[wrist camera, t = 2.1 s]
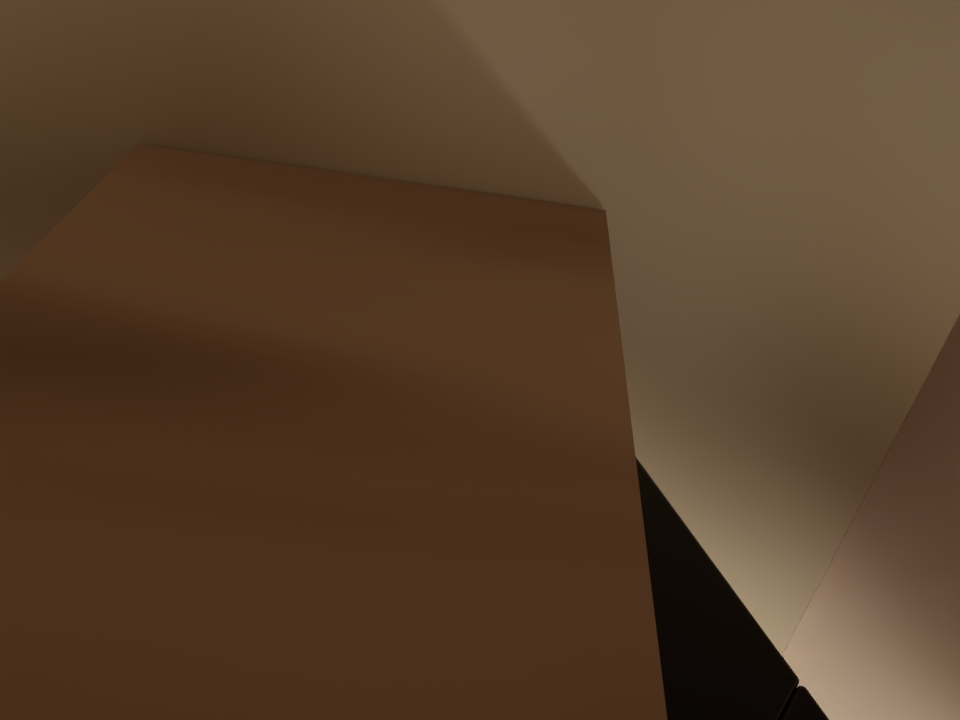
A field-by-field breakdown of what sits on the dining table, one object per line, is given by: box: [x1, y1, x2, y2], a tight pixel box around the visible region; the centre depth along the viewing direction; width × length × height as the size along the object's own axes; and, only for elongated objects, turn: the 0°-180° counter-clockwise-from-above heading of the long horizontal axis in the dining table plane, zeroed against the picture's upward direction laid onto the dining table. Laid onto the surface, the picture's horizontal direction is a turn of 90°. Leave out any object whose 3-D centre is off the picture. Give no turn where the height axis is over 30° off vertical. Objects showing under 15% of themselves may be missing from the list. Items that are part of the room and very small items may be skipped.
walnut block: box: [0, 144, 667, 720], centre depth 7 cm, size 4×4×6 cm
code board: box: [0, 0, 960, 655], centre depth 10 cm, size 27×12×1 cm, turn 173°
